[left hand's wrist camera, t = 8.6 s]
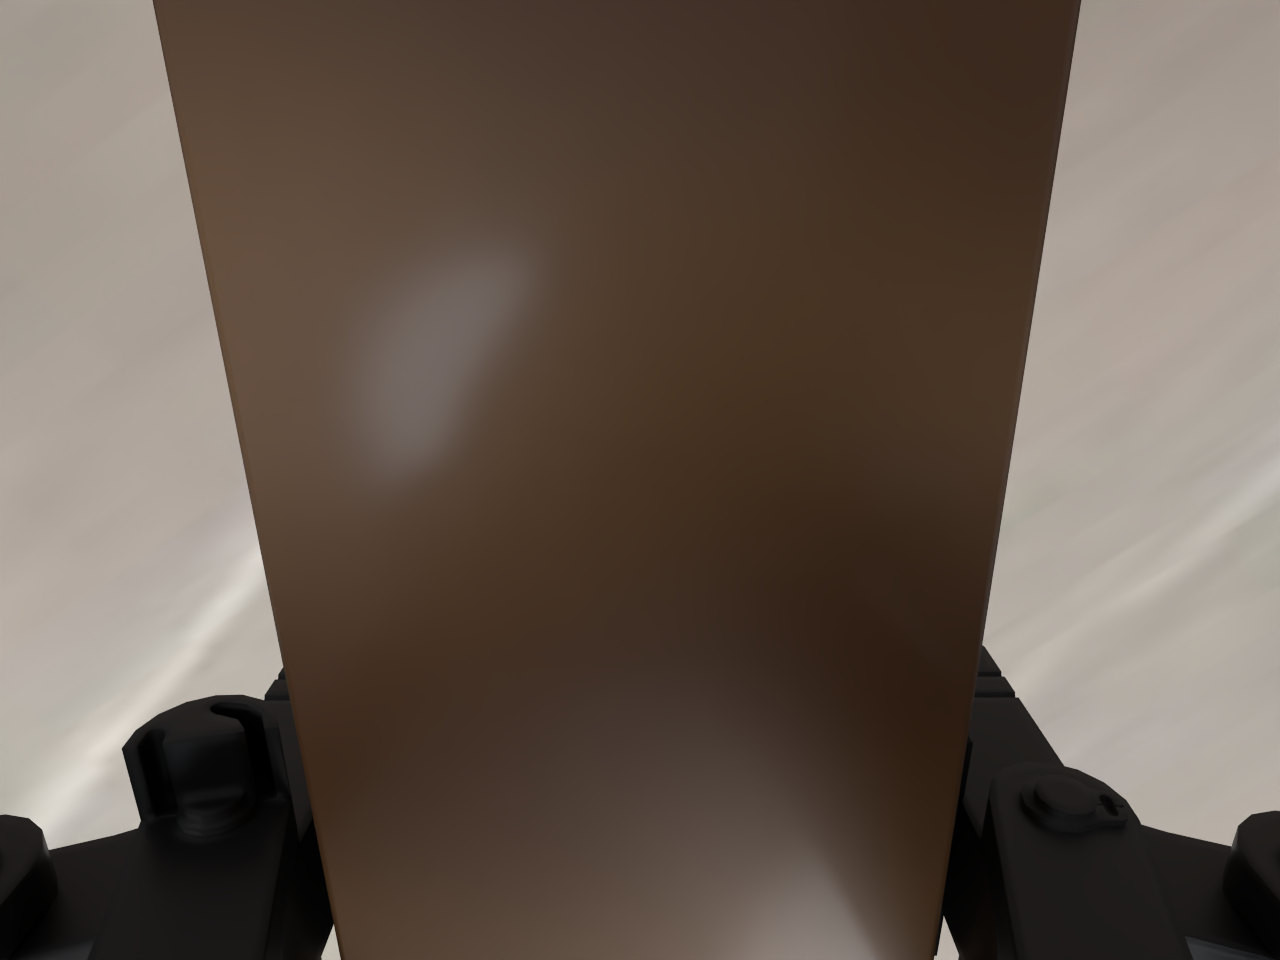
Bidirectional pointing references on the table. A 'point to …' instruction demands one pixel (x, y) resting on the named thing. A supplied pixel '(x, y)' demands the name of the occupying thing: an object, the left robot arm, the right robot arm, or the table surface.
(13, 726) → the table surface
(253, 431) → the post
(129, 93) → the table surface
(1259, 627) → the table surface
